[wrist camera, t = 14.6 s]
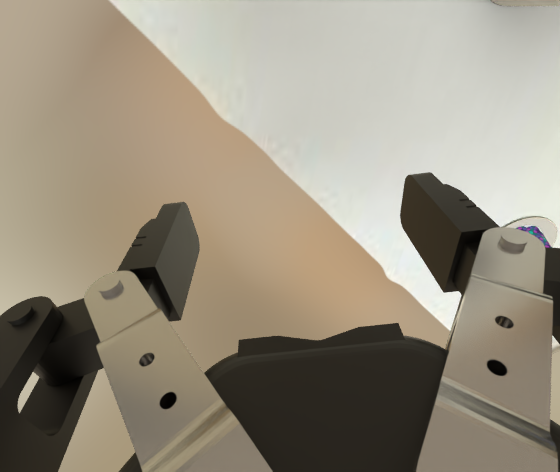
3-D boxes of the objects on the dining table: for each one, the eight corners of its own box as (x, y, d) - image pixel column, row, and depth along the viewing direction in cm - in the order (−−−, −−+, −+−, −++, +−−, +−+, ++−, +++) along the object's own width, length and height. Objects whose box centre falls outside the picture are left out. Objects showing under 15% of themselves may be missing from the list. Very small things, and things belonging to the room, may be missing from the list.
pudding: (555, 252, 55) (579, 272, 50) (484, 278, 58) (502, 300, 54) (552, 202, 48) (580, 220, 44) (473, 235, 52) (492, 255, 47)
